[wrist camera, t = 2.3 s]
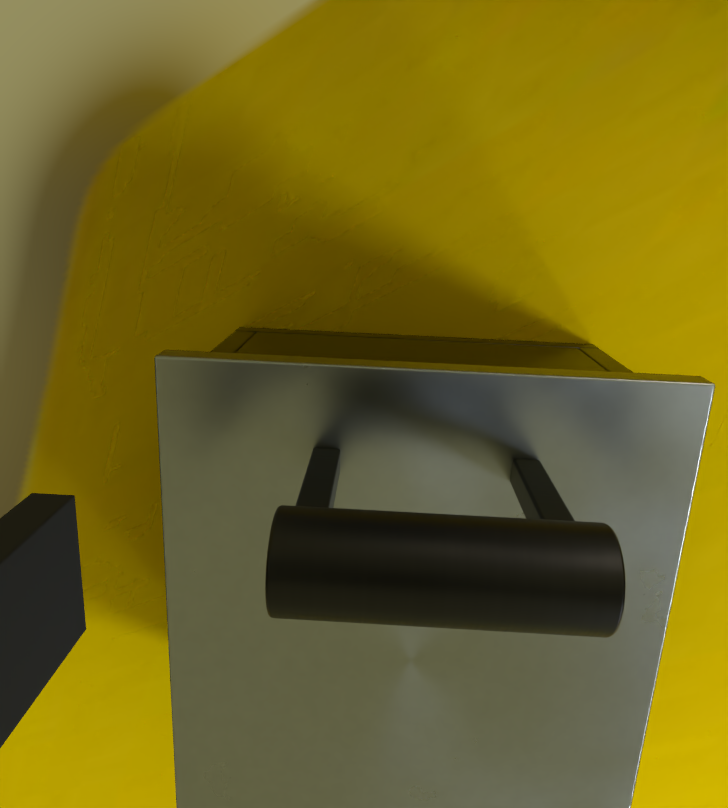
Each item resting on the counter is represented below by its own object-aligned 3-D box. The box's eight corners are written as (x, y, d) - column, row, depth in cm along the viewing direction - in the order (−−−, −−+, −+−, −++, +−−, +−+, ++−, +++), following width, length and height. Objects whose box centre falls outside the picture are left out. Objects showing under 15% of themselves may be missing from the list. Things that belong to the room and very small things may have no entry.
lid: (163, 349, 17) (25, 438, 11) (702, 375, 17) (899, 484, 10) (186, 847, 22) (100, 1119, 15) (605, 874, 22) (698, 1165, 15)
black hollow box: (239, 326, 26) (166, 386, 17) (593, 343, 26) (693, 412, 17) (243, 667, 30) (186, 845, 22) (544, 685, 30) (605, 873, 22)
